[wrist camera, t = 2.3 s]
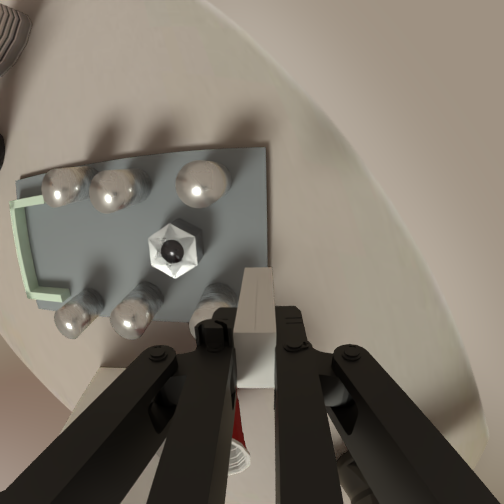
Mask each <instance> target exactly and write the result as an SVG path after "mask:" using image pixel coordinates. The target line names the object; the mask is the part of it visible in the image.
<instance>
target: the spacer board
mask: <svg viewBox="0 0 504 504" xmlns="http://www.w3.org/2000/svg"><path fill="white" fill-rule="evenodd" d="M196 160H203V161H212V162H218V163H221V164H223V165H224V166H225V167H226V168H227V169H228V170H229V172H230V174H231V178H232V183H231V187H230V189H229V191H228V192H227V194H226V195H224V196H223V197H222V198H220V199H219V200H217V201H216V202H214V203H213V204H212V205H210V206H208V207H205V208H193V207H190V206H188V205H186V204H185V203H184V202H182V200H181V199H180V198H179V196H178V194H177V192H176V186H175V182H176V177H177V175H178V173H179V171H180V170H181V168H182V167H183V166H184V165H186V164H187V163H189V162H192V161H196ZM84 166H91V167H94V168H95V169H96V170H97V171H98V173H99V172H101V171H105V170H120V169H141V170H143V171H145V172H146V173H147V174H148V176H149V177H150V180H151V192H150V195H149V196H148V198H147V199H146V200H145V201H144V202H142V203H139V204H136V205H133V206H130V207H127V208H124V209H121V210H118V211H115V212H113V213H109V214H105V213H101V212H99V211H98V210H96V209H95V208H94V206H93V205H92V203H91V201H90V199H87V200H83V201H79V202H75V203H71V204H68V205H64V206H60V207H56V208H53V207H50V206H49V205H47V204H46V203H44V204H38V205H32V206H26V207H24V208H25V216H26V224H27V231H28V237H29V243H30V249H31V254H32V259H33V264H34V268H35V273H36V277H37V281H38V285H39V286H41V287H53V288H66V289H69V291H70V295H71V296H70V297H69V298H67V299H66V300H65V301H64V302H53V301H45V300H36V301H37V305H38V308H39V309H45V310H52V311H57V310H58V309H60V308H61V307H62V306H63V305H65V304H66V303H67V302H68V301H70V300H71V299H72V298H73V297H75V296H76V295H77V294H79V293H80V292H81V291H82V290H84V289H85V288H93V289H95V290H96V291H98V292H99V293H100V295H101V296H102V298H103V300H104V305H105V307H104V310H103V312H102V313H101V314H100V315H99V316H103V317H110V314H111V312H112V310H113V309H114V308H115V307H116V306H117V305H118V304H119V303H120V302H121V301H122V300H123V299H124V298H125V297H126V296H127V295H128V294H129V293H130V292H131V291H132V290H133V289H134V288H135V287H136V286H137V285H138V284H139V283H141V282H150V283H153V284H155V285H156V286H157V287H158V288H159V289H160V290H161V292H162V294H163V299H164V300H163V305H162V307H161V308H160V309H159V311H158V312H157V314H156V315H155V317H154V318H153V320H152V321H169V322H190V319H191V317H192V315H193V313H194V311H195V309H196V306H197V304H198V302H199V300H200V298H201V296H202V294H203V292H204V290H205V288H206V287H207V286H209V285H210V284H213V283H224V284H226V285H228V286H230V287H231V288H232V289H233V290H234V292H235V294H236V298H237V301H236V306H235V307H238V303H239V297H240V291H241V286H242V280H243V275H244V269H245V268H253V267H267V194H266V147H251V148H225V149H208V150H194V151H183V152H172V153H162V154H154V155H145V156H138V157H130V158H123V159H117V160H110V161H104V162H98V163H93V164H87V165H82V166H77V167H84ZM45 174H46V173H45ZM45 174H40V175H36V176H32V177H28V178H25V179H21V180H17V181H16V193H17V200H18V199H22V198H27V197H32V196H38V195H42V190H41V187H42V181H43V178H44V176H45ZM177 218H181V219H183V220H185V221H187V222H189V223H190V224H192V225H194V226H196V227H198V228H200V229H202V234H203V248H204V256H203V258H202V259H201V261H200V262H199V264H198V265H197V266H195V267H194V268H192V269H190V270H189V271H187V272H185V273H184V274H182V275H180V276H179V277H177V278H176V279H175V278H173V277H171V276H170V275H168V274H166V273H164V272H162V271H161V270H159V269H157V268H155V267H153V266H152V265H151V258H150V250H149V241H148V238H149V237H151V236H152V235H153V234H155V233H156V232H158V231H159V230H161V229H162V228H164V227H165V226H166V225H168V224H169V223H171V222H173V221H174V220H176V219H177Z"/></svg>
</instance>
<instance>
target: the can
mask: <svg viewBox="0 0 504 504" xmlns="http://www.w3.org/2000/svg"><path fill="white" fill-rule="evenodd" d="M31 27H32V23H31V21H30V19H29V16H28V15H26V14H24V13H21V12H19V11H17V10H15V9H12V8H10V7H8V6H5V5H3V4H0V77H2V76H3V75H4V74H5V73H6V72H7V71H8V70H9V69H10V68H11V67H12V66H13V65H14V64H15V63H16V61H17V59H18V58H19V56H20V54H21V52H22V51H23V49H24V48H25V46H26V44H27V41H28V38H29V34H30V31H31Z"/></svg>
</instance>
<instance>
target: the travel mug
mask: <svg viewBox="0 0 504 504" xmlns="http://www.w3.org/2000/svg"><path fill="white" fill-rule="evenodd" d="M4 153H5V146H4V140H3V137H2V135H1V134H0V169H1V167H2V164H3V160H4Z"/></svg>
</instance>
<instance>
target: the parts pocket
mask: <svg viewBox="0 0 504 504" xmlns="http://www.w3.org/2000/svg"><path fill="white" fill-rule="evenodd" d="M44 203H46V202H45V201H44V199H43V196H42V195H38V196H32V197H27V198H22V199H18V200H13V201H9V205H10V214H11V222H12V228H13V235H14V241H15V246H16V252H17V257H18V261H19V266H20V270H21V275H22V279H23V283H24V287H25V290H26V294H27V298H29V299H36V300H45V301H53V302H64V301H65V300H66V299H67V298H69V297H70V296H71V295H70V291H69V289H66V288H53V287H41V286H39V285H38V281H37V277H36V273H35V268H34V264H33V259H32V254H31V249H30V243H29V237H28V231H27V224H26V216H25V208H24V207H26V206H32V205H38V204H44Z"/></svg>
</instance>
